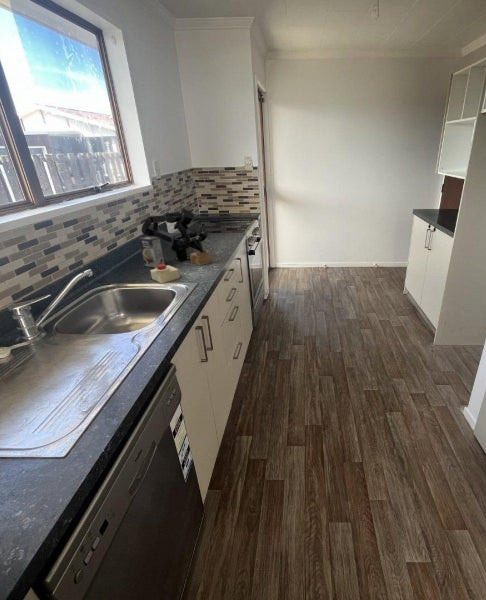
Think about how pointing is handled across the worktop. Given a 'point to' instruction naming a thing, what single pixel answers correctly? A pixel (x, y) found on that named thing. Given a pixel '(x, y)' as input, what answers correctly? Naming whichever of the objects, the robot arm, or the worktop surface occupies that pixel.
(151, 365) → the worktop surface
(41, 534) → the worktop surface
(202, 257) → the oak block
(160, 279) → the cream block
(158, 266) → the knob
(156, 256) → the coffee box
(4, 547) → the worktop surface
